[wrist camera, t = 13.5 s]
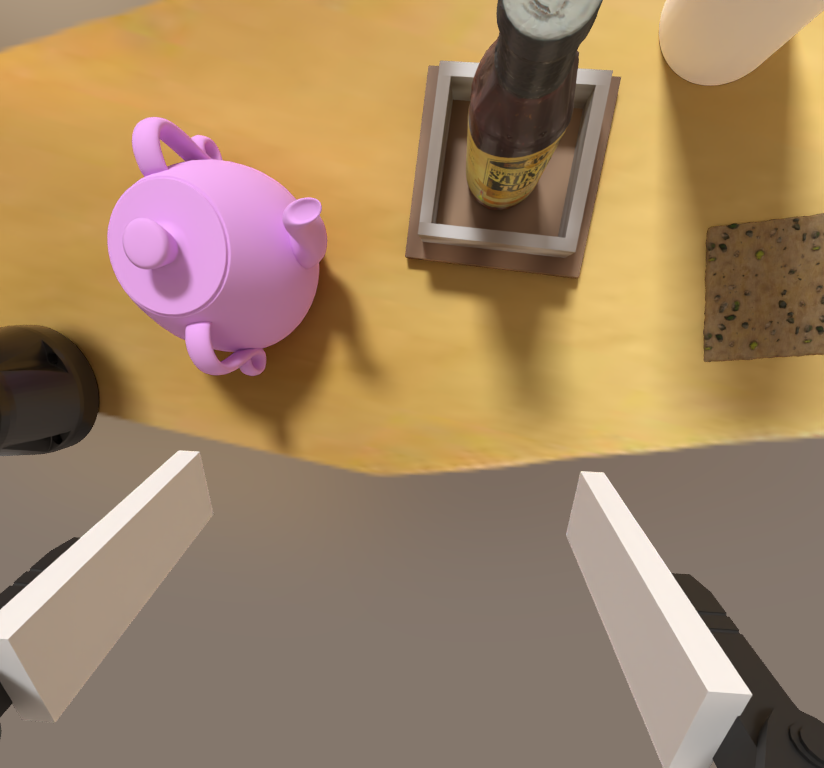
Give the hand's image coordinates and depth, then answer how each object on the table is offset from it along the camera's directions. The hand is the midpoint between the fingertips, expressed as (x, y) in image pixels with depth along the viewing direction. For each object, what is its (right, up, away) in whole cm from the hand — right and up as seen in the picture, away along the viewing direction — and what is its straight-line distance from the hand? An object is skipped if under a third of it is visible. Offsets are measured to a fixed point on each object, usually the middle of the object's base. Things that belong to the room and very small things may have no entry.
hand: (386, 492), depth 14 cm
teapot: (-14, +16, +27) cm, 34 cm away
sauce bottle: (+9, +22, +21) cm, 32 cm away
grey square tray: (+9, +23, +22) cm, 33 cm away
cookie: (+33, +12, +21) cm, 41 cm away
